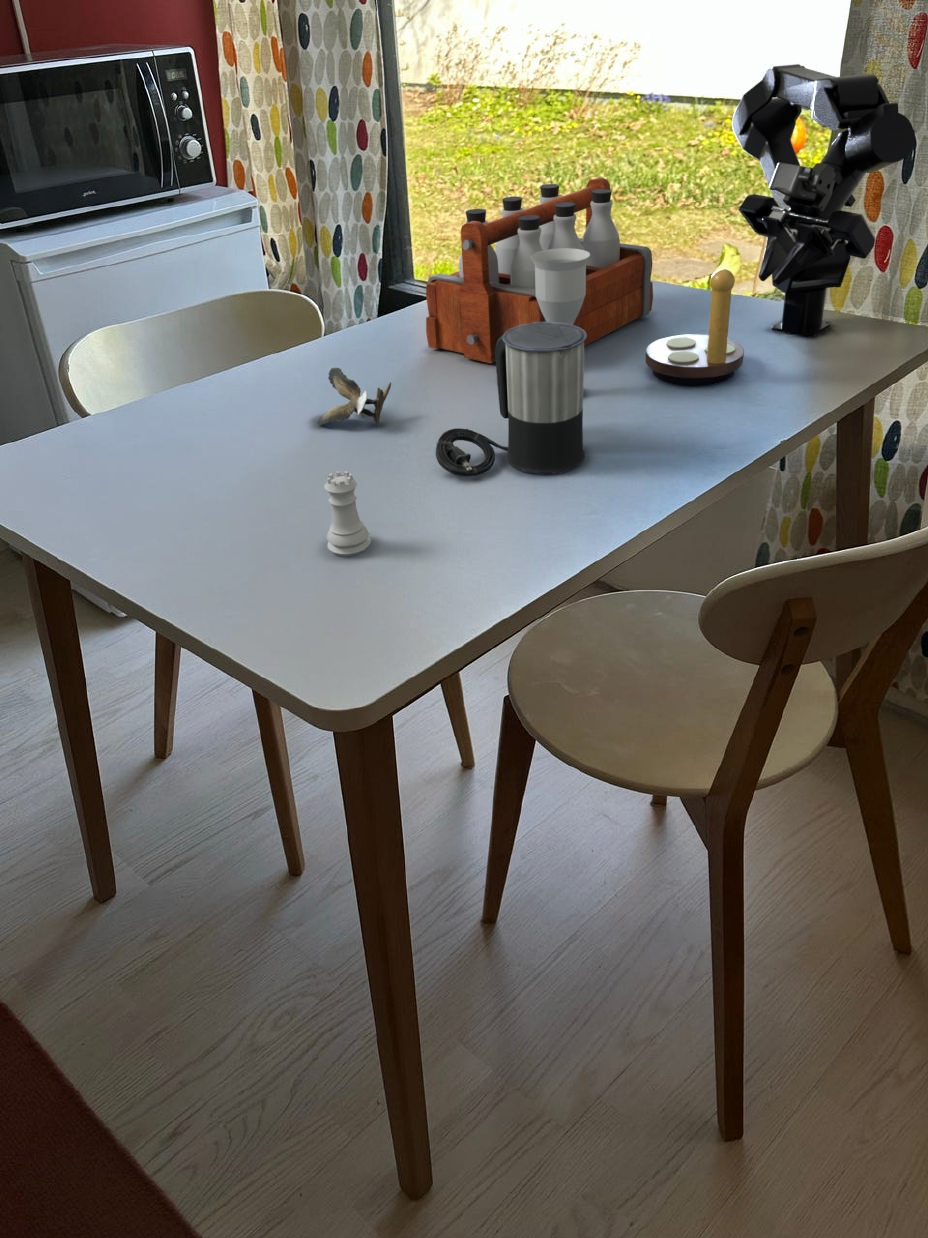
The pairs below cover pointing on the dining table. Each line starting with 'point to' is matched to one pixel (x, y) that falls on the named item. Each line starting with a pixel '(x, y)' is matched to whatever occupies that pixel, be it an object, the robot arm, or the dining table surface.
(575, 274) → the chalice
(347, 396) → the eagle figurine
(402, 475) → the dining table surface
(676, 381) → the holder base
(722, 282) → the joystick with buttons
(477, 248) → the milk bottle holder
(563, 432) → the milk frother
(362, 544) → the rook chess piece
